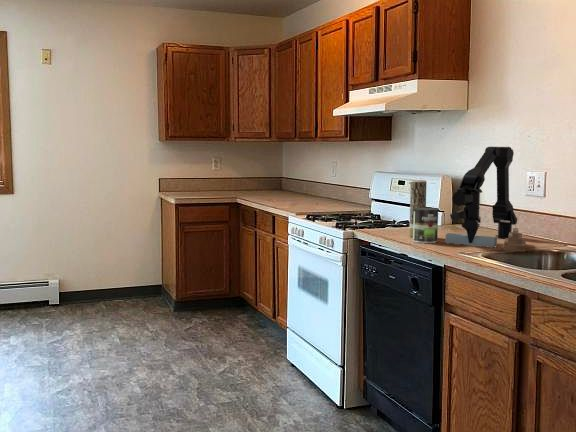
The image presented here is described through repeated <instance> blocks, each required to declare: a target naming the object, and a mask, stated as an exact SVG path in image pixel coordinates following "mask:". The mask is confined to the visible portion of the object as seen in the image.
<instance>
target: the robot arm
mask: <svg viewBox="0 0 576 432" xmlns="http://www.w3.org/2000/svg"><path fill="white" fill-rule="evenodd" d="M513 158H514V150H513V148H512V147H510V146H487V147H485V150H484V153H483V154H482V156H481V157H480V159H479V160H478V161H477V163H476V164H475V166H474V167H473V168H470V169H469V170H468V171H467V172H466V173H464V175H463V177H462V179H461V181H460V184H459V186H458V188H457V189H456V192H455V193H454V194H453V196H452V203H453V204H454V205H455V206H457V207H462V206H463V209H461V210H459V211H458V210H454V211H452V212H451V213H450V214H449V217H450V219H451V222H456V221H459V220H462V221H461V228H463V229H464V230H466V233H467V234H466V235H468V240H469V243H472V241H473V239H474V237H475V235H476V234H477V232H478V230H479V227H480V224H481V221H482V218H481V216H480V209H481V207H480V200H481V198H480V197H481V196H480V195H481V193H483V190H482V188H481V187H482V186H483V184H485V183H484V182H485V180H486V177H485V175H486V173H487V171H488V170H489V169H490V167H491V166H492V164H494V166H495V167H496V202H495V204H493V205H492V208H491V209H492V213H491V214H492V222H493V223H494V224H498V225H497V234H495V236H494V237H497V239H505V238H508V236H509V233H513V225H515V226H516V225H517V223H518V217H517V216H516V213H515V212H514V206H513V204H512V203H511V201H510V179H509V178H510V177H509V176H510V172H509V169H510V166H511V164H512V162H513V161H514V160H513ZM476 236H477V235H476Z"/></svg>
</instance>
